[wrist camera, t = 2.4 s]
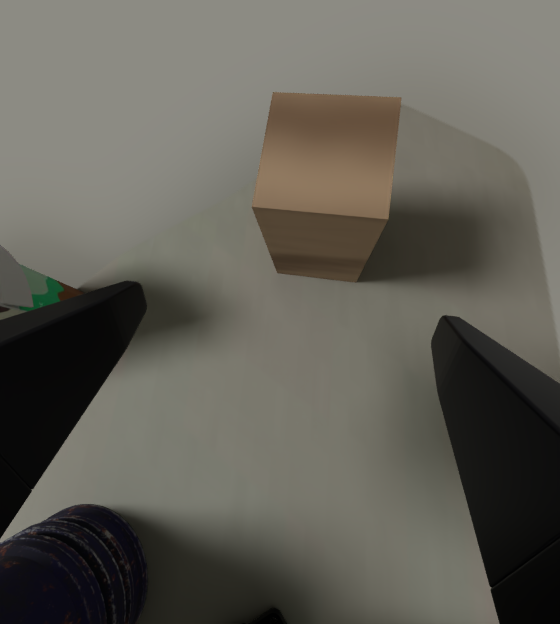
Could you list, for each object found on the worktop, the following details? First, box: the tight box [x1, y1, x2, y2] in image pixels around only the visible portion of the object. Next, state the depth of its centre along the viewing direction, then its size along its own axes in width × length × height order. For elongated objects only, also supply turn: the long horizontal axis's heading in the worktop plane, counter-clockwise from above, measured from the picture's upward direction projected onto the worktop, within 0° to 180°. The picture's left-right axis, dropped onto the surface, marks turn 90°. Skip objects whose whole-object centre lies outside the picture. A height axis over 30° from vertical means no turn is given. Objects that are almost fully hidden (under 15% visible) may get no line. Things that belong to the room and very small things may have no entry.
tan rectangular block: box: [252, 92, 401, 282], centre depth 19 cm, size 6×6×10 cm
